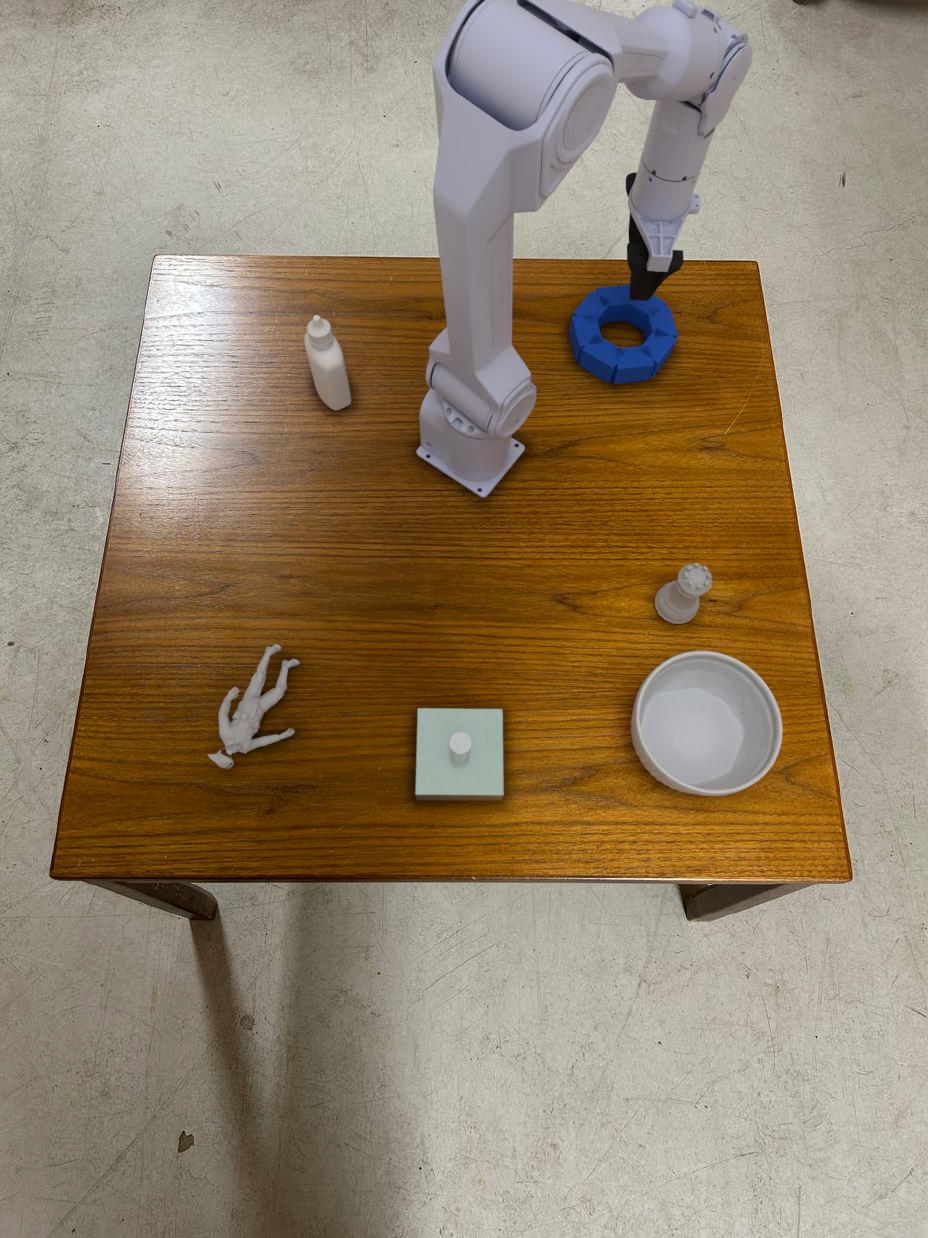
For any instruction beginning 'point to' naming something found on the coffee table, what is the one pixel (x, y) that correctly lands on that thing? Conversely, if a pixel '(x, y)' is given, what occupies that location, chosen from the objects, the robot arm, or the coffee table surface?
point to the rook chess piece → (683, 594)
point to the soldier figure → (251, 712)
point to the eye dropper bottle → (327, 364)
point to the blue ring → (610, 358)
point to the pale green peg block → (459, 754)
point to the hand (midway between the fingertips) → (638, 269)
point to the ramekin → (706, 724)
